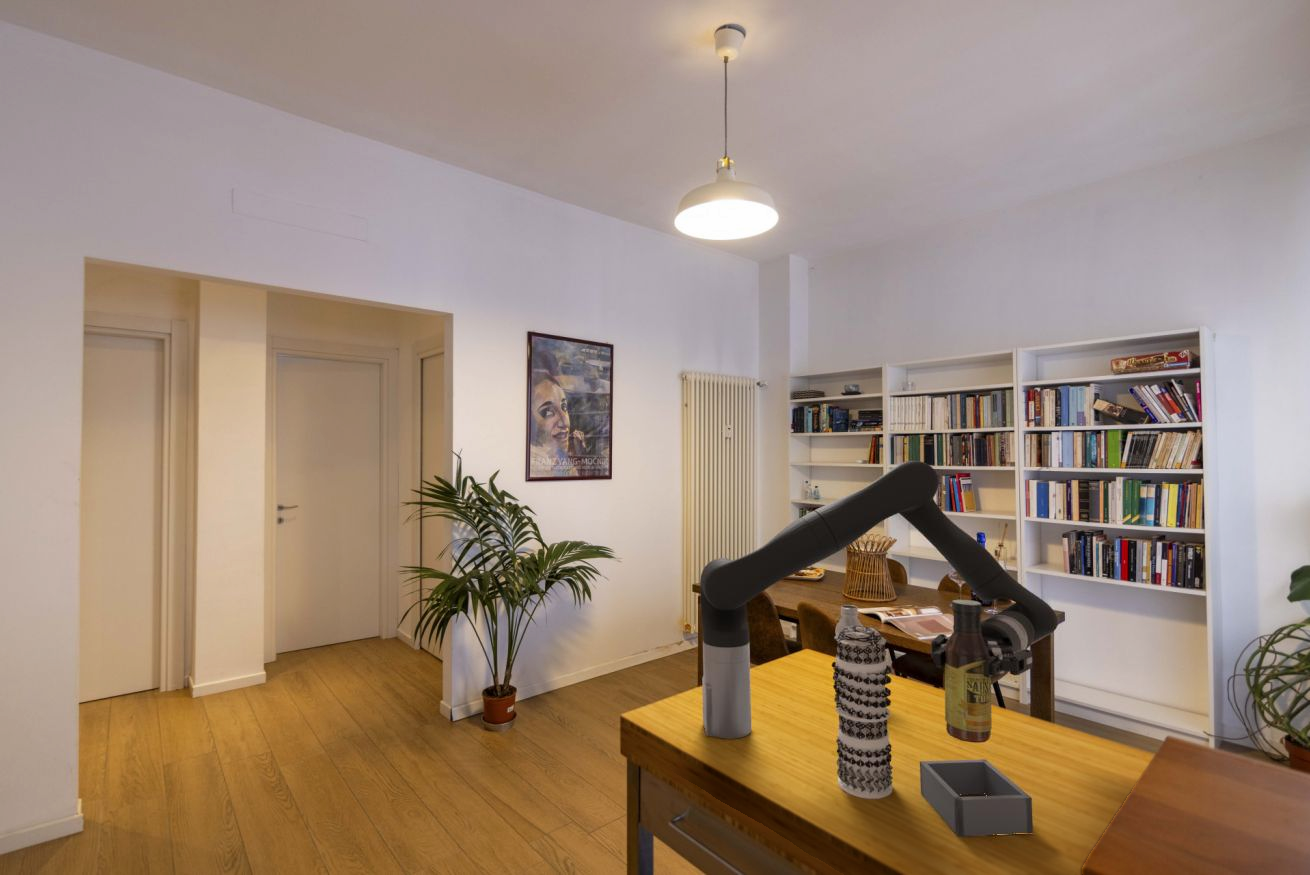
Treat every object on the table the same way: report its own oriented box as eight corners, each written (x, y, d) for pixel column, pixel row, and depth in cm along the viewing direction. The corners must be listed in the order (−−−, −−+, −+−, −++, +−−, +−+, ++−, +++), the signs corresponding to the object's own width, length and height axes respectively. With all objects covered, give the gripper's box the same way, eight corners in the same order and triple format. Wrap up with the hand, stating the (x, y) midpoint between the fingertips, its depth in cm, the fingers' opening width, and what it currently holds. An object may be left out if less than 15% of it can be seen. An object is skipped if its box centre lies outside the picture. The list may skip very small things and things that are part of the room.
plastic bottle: (867, 693, 143) (864, 604, 144) (867, 704, 136) (864, 611, 137) (837, 690, 145) (835, 602, 146) (836, 701, 139) (833, 609, 140)
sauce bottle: (973, 749, 90) (969, 608, 91) (936, 732, 96) (932, 600, 96) (1002, 739, 93) (998, 603, 94) (964, 723, 99) (960, 595, 100)
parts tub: (958, 837, 88) (957, 800, 88) (920, 793, 100) (919, 761, 100) (1033, 834, 88) (1031, 797, 88) (986, 791, 100) (985, 759, 100)
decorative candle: (888, 806, 96) (883, 640, 97) (828, 790, 101) (823, 632, 102) (900, 780, 104) (895, 626, 105) (844, 767, 109) (839, 620, 110)
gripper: (951, 611, 110) (912, 630, 98) (1045, 626, 100) (1015, 649, 88) (952, 655, 110) (913, 679, 98) (1047, 673, 100) (1016, 703, 88)
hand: (961, 665), depth 93 cm, fingers closed on sauce bottle, 6 cm apart
